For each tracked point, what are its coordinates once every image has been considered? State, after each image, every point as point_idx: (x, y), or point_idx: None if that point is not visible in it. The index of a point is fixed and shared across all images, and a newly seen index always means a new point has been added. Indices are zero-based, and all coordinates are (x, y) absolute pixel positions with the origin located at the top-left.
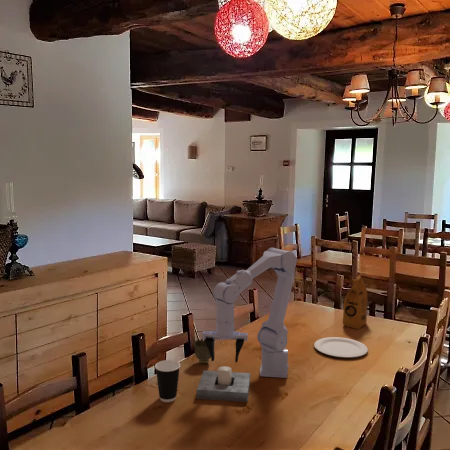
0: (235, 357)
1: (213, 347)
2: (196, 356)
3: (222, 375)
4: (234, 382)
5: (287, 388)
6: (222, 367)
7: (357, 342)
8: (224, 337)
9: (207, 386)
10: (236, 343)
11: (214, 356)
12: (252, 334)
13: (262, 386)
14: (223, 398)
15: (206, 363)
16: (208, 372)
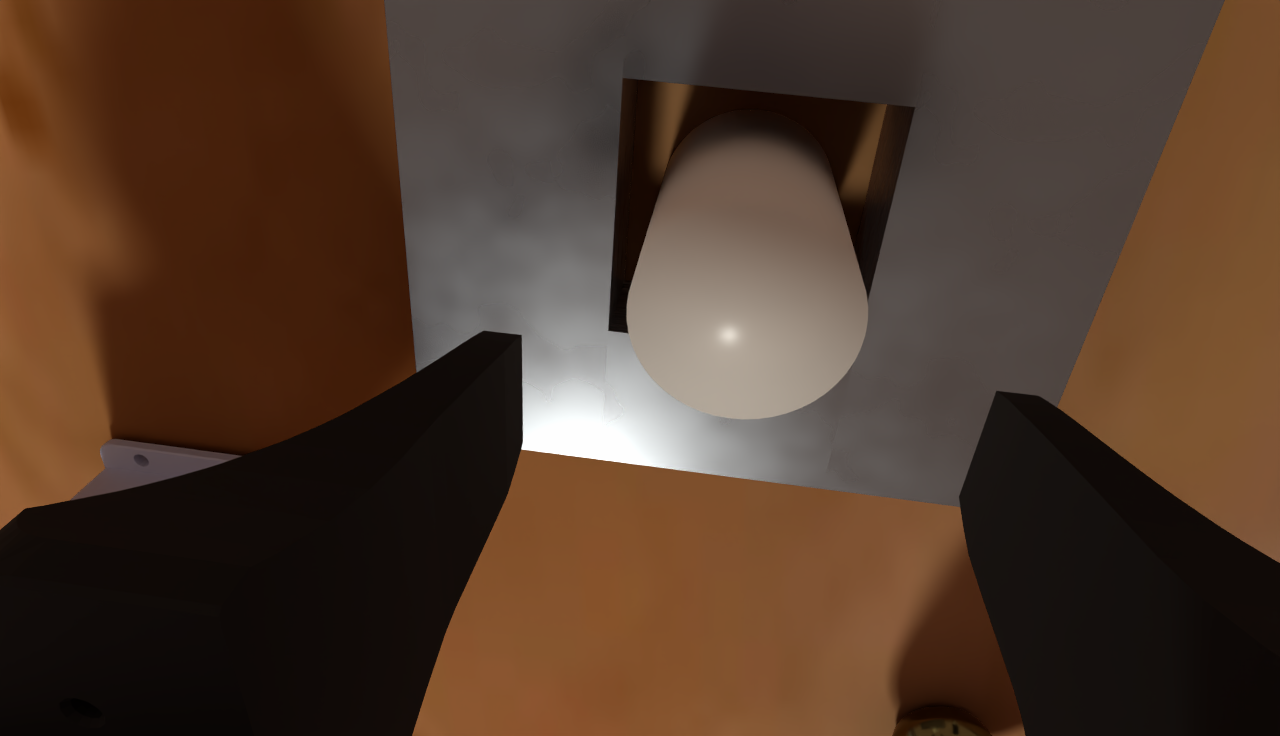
0: (480, 374)
1: (1095, 678)
2: None
3: (788, 190)
4: (604, 191)
5: (44, 235)
6: (782, 382)
7: None
8: None
9: (1038, 42)
10: (177, 597)
11: (970, 527)
12: None
13: (311, 277)
14: None
15: (915, 711)
16: (956, 463)
